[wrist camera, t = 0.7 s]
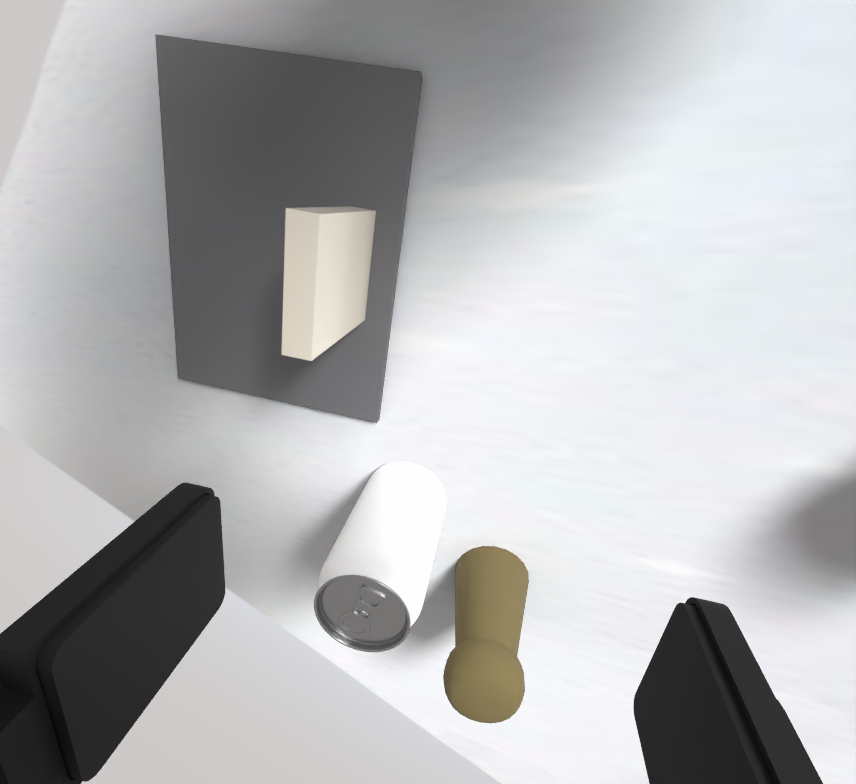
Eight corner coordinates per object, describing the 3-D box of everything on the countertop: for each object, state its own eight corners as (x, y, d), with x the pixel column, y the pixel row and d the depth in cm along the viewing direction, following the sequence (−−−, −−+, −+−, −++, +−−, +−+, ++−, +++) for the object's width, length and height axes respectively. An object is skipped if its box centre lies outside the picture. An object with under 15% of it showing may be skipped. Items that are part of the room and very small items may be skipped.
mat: (162, 37, 28) (155, 34, 28) (422, 74, 26) (420, 71, 26) (182, 375, 37) (177, 378, 36) (379, 419, 35) (376, 422, 35)
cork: (441, 561, 39) (414, 685, 29) (504, 535, 37) (498, 659, 27) (479, 612, 40) (466, 748, 30) (542, 590, 38) (550, 727, 28)
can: (356, 504, 39) (292, 625, 28) (386, 444, 36) (328, 550, 25) (426, 540, 39) (390, 674, 28) (461, 482, 36) (437, 605, 25)
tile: (348, 205, 29) (282, 207, 21) (376, 210, 29) (319, 214, 21) (340, 315, 32) (278, 354, 24) (364, 319, 32) (311, 360, 24)
